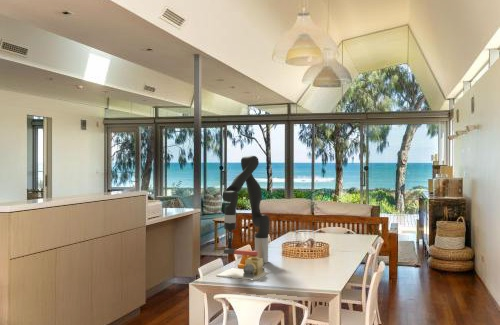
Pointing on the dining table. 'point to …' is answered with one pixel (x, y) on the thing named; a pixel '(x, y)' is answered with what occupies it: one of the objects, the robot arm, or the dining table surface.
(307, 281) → the dining table surface
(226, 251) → the lever
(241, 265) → the bracket
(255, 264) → the valve
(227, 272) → the base plate
